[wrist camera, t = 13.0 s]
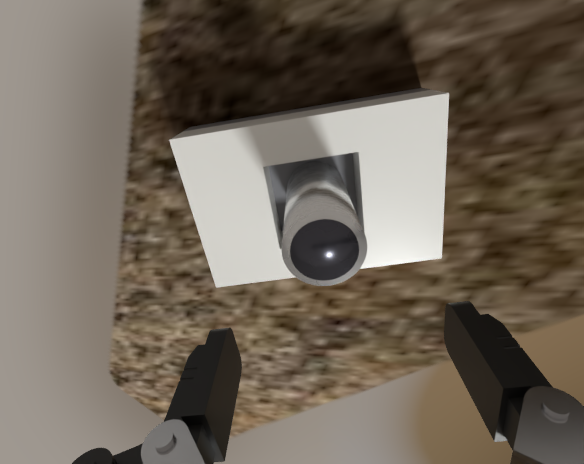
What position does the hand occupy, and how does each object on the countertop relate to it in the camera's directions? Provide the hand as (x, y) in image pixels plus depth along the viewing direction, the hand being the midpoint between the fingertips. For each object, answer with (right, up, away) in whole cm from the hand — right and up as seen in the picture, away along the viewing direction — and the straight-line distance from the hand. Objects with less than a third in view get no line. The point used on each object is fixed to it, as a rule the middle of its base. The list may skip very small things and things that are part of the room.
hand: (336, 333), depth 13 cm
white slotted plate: (0, +8, +16) cm, 18 cm away
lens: (0, +7, +14) cm, 16 cm away
